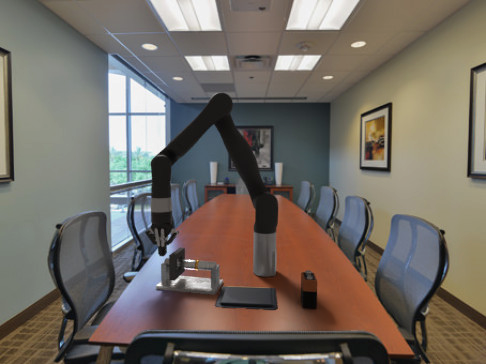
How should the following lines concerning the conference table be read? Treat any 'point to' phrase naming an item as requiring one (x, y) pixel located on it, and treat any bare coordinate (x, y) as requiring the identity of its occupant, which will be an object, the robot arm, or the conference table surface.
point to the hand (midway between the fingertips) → (162, 255)
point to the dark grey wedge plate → (173, 257)
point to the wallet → (247, 298)
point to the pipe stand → (188, 282)
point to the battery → (308, 290)
